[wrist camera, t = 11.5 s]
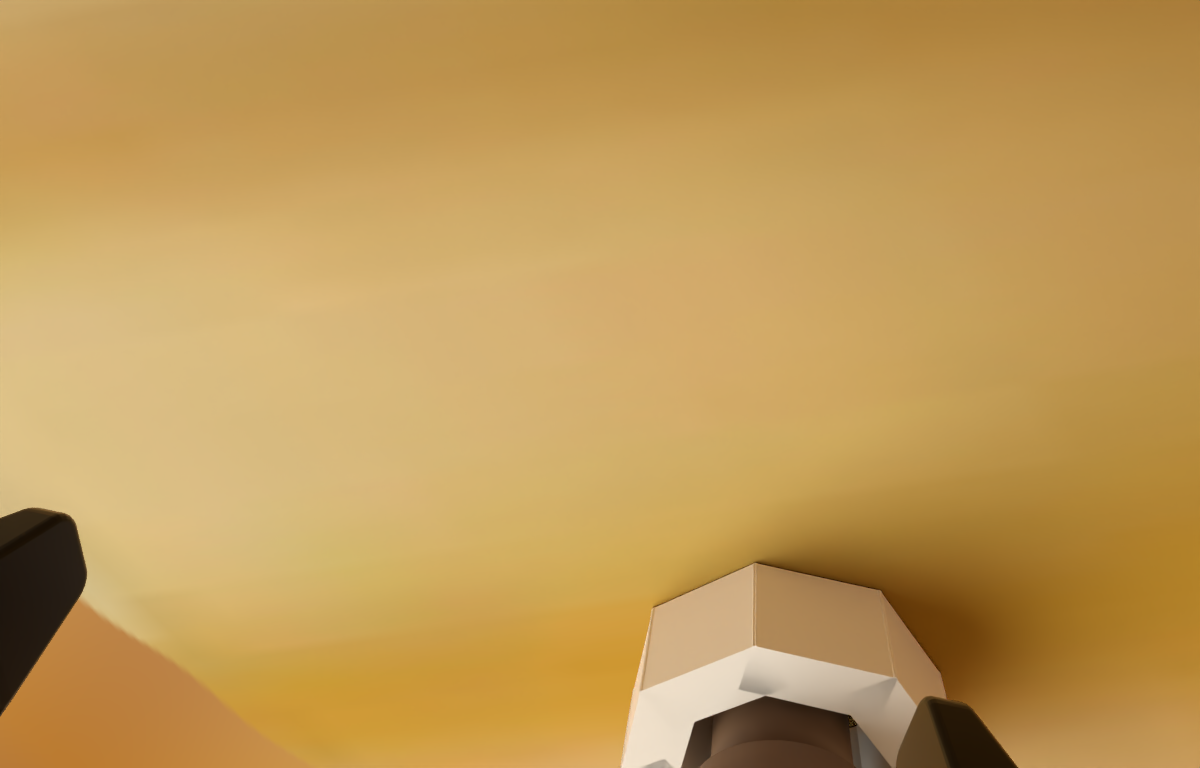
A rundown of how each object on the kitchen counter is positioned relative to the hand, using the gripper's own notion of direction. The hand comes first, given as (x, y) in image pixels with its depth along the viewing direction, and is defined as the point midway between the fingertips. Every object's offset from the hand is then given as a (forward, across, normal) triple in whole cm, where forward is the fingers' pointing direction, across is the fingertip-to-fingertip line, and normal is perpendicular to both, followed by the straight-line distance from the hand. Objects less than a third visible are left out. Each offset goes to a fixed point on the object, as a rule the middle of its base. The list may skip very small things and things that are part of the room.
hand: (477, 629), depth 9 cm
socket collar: (+12, -6, +12) cm, 18 cm away
